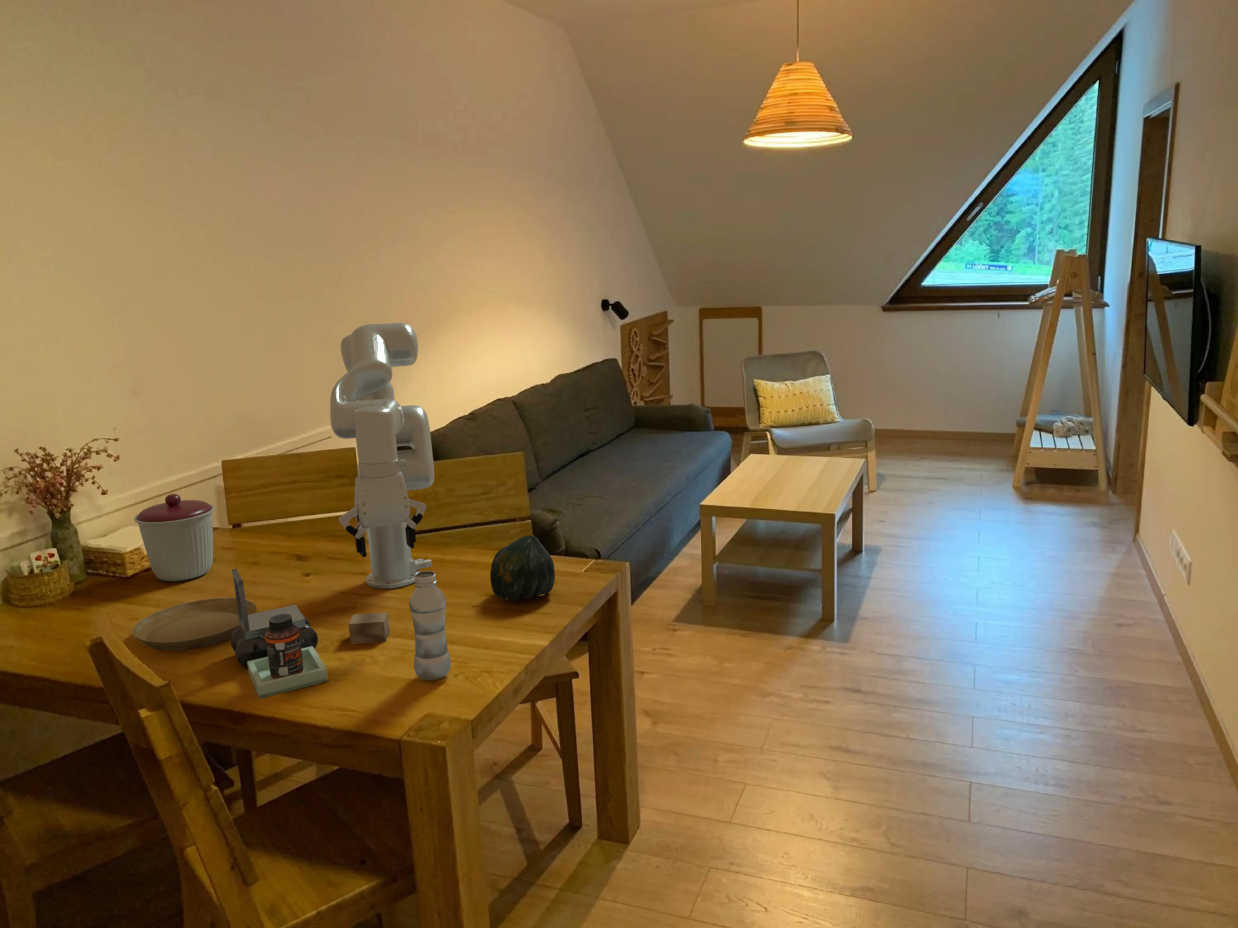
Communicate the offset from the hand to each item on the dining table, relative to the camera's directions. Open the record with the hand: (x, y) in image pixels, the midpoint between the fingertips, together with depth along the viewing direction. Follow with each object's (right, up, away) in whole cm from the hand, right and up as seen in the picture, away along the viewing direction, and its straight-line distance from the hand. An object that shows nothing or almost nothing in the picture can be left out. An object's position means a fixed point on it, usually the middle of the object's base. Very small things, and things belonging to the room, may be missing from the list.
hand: (387, 550), depth 181 cm
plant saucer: (-43, -19, +10) cm, 48 cm away
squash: (+25, -13, +23) cm, 37 cm away
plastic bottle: (+13, -22, -16) cm, 30 cm away
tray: (-15, -22, -14) cm, 30 cm away
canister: (-63, -11, +46) cm, 79 cm away
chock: (-4, -18, +3) cm, 19 cm away
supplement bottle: (-15, -22, -14) cm, 30 cm away
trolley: (-21, -20, -3) cm, 29 cm away
